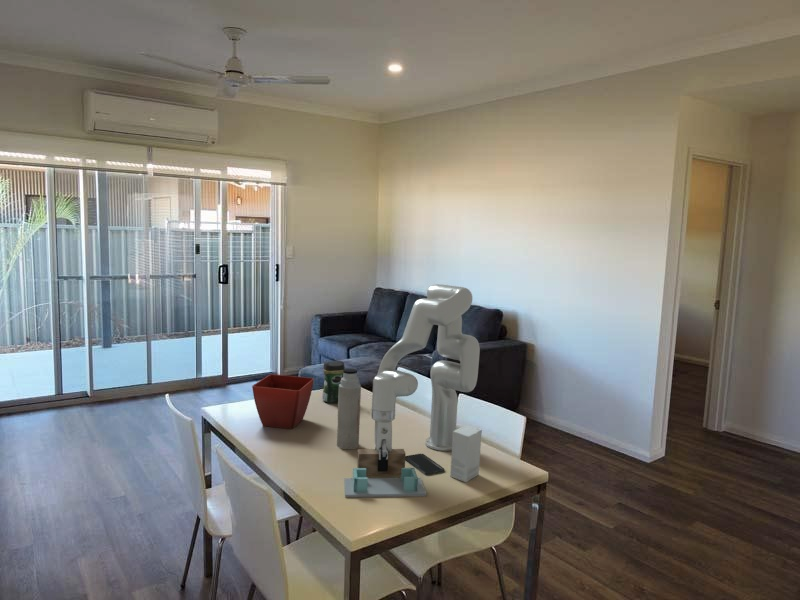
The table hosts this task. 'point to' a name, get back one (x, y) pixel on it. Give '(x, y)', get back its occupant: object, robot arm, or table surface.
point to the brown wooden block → (370, 461)
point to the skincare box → (465, 453)
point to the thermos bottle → (349, 410)
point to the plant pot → (282, 399)
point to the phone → (424, 464)
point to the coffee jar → (332, 380)
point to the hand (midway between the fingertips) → (381, 464)
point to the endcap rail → (384, 485)
